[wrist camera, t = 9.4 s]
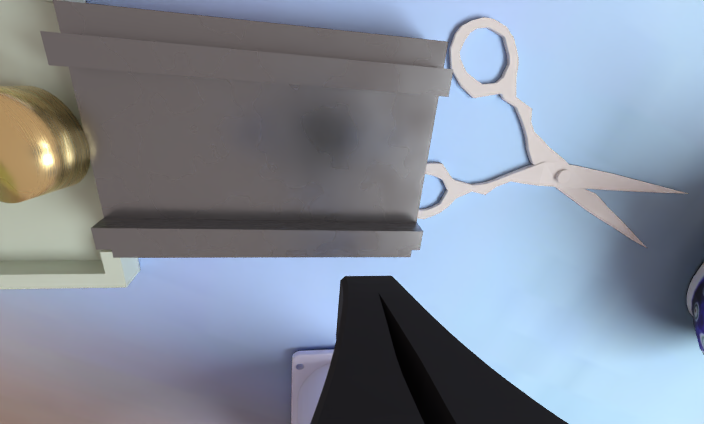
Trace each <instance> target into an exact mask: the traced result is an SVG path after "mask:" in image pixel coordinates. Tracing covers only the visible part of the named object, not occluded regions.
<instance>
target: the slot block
mask: <svg viewBox="0 0 704 424" xmlns="http://www.w3.org/2000/svg"><path fill="white" fill-rule="evenodd" d="M53 4H54V8H55V12H56V16H57V21H58V25H59V29H60V33H57V32H46V31H40V33H41V37H42V41H43V45H44V49H45V52H46V56H47V60H48V64H49V65H52V66H65V67H69V71H70V76H71V80H72V84H73V88H74V93H75V97H76V101H77V105H78V110H79V114H80V118H81V122H82V127H83V131H84V133H85V136H86V138H87V142H88V145H89V151H90V160H91V165H92V169H93V173H94V177H95V182H96V186H97V190H98V194H99V199H100V203H101V207H102V211H103V216H104V218H103V219H101V220H100V221H99V222H98V223H96V224H95V225H94V226H93V227H91V231H92V235H93V239H94V243H95V247H96V250H112V254H113V258H185V257H410V256H411V250H420V246H421V240H422V235H423V231H422V229H421V228H420V226H419V225H418V224H417V216H418V211H419V205H420V199H421V194H422V188H423V182H424V176H425V171H426V165H427V159H428V154H429V148H430V142H431V137H432V131H433V125H434V120H435V114H436V108H437V103H438V97H439V96H446V97H448V96H449V90H450V85H451V80H452V74H453V69H444V63H445V57H446V51H447V46H448V42H446V41H436V40H427V39H417V38H408V37H399V36H389V35H380V34H370V33H361V32H352V31H342V30H333V29H324V28H314V27H305V26H295V25H286V24H277V23H267V22H258V21H249V20H239V19H230V18H220V17H211V16H202V15H192V14H183V13H173V12H164V11H155V10H145V9H136V8H127V7H117V6H108V5H98V4H89V3H80V2H70V1H61V0H53Z"/></svg>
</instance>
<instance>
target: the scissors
mask: <svg viewBox="0 0 704 424" xmlns="http://www.w3.org/2000/svg"><path fill="white" fill-rule="evenodd" d="M477 28H487V29H489V30H491V31H493V32H495V33H496V34H498V35H499V36H501V37H502V39H503V43H504V46H505V50H506V54H507V65H506V67H505V70H504V72H503V74H502V76H501V78H500V79H499V80H497V81H496V82H495V83H489V84H481V83H480V82H478V81H477V80H476V79H474V78H473V77H472V76H471V75H469V74H468V73H467V72H466V70H465V68H464V66H463V64H462V61H461V59H460V50H461V48H462V46H463V43H464V41H465V39H466V38H467V37H468V35H469V34H470V33H471V32H472V31H474V30H476V29H477ZM449 58H450V69H453V75H454V76H455V78H456V80H457V82H458V84H459V85H460V87H461V88H462V89H464V90H465V91H466V92H467V93H468V94H469V95H470V96H471V97H472V98H477V97H483V96H489V95H495V94H500V96H501V99H502V100H504V101H505V102H507V103H509V104H510V105H512V106H513V107H514V108H515V111H516V113H517V115H518V118H519V120H520V123H521V126H522V129H523V133H524V136H525V144H526V151H527V154H528V157H529V160H530V163H531V165H528V166H525V167H523V168H520V169H518V170H515V171H512V172H510V173H507V174H505V175H502V176H500V177H497V178H495V179H492V180H489V181H486V182H482V183H475V184H469V183H465V182H462V181H458V180H454V179H453V178H452V177H451V176H450V175H449V173H448V171H447V170H446V168H445V167H444V165H443V164H442V163H430V162H429V163H427V165H426V171H425V174H428V175H433V176H436V177H438V178H440V179H442V181H443V183H444V186H445V188H446V191H445V193H444V195H443V196H442V198H441V200H440V202H439V203H437V204H435V205H433V206H431V207H429V208H425V209H419V211H418V216H417V218H420V219H425V218H428V217H431V216H434V215H436V214H438V213H440V212H442V211H443V210H444V209H446V208H447V207H448V206H449V205H450V204H451V203H452V202H453V201H454V200H455V199H456V198H458V197H460V196H463V195H465V194H467V193H469V192H472V191H473V192H476V193H480V194H484V195H486V194H487V193H488V192H490V191H491V190H493V189H494V188H495V187H497V186H500V185H502V184H505V183H508V182H510V181H512V182H517V183H523V184H530V185H537V186H552V187H556V188H557V189H558V190H560V191H561V192H562V193H564V194H565V195H566V196H568V197H569V198H570V199H572V200H573V201H574V202H576V203H577V204H578V205H580V206H581V207H582V208H584V209H585V210H587V211H588V212H590V213H591V214H593V215H594V216H596V217H597V218H599V219H600V220H602V221H603V222H605V223H607V224H608V225H610V226H612V227H613V228H615V229H616V230H618V231H619V232H621V233H622V234H624V235H625V236H627V237H628V238H630V239H631V240H633V241H635V242H637V243H639V244H640V245H642V246H644V247H646V246H645V245H644V244H643V243H642V242H641V241H640V240H639V239H638V238H637V237H636V236H635V234H634V233H633V232H632V231H631V230H630V229H629V228H628V227H627V226H626V225H625V224H624V223H623V222H622V221H621V219H620V218H619V217H618V216H616V215H615V214H614V213H613V212H612V211H611V210H610V209H609V208H608V207H607V206H606V204H605V203H604V202H603V201H602V200H601V199H600V198H599V196H597V195H596V194H595V193H593V192H590V191H588V190H586V189H599V190H615V191H634V192H658V193H682V194H689V193H685V192H681V191H677V190H673V189H670V188H666V187H662V186H658V185H654V184H650V183H647V182H643V181H639V180H635V179H631V178H628V177H624V176H620V175H616V174H612V173H607V172H603V171H598V170H594V169H589V168H585V167H580V166H576V165H569V164H568V163H567V162H566V161H565V160H564V159H563V158H562V157H560V156H559V155H558V154H557V153H556V152H554V151H553V150H552V149H551V148H550V147H549V146H548V145H547V144H546V143H545V142H544V141H543V140H542V139H541V138H540V137H539V136H538V135H537V134H536V133H535V132H534V129H533V126H532V123H531V117H532V108H530V107H529V106H528V105H526V104H525V103H523V102H522V101H521V100H519V99H518V98H517V97H516V76H517V70H518V53H517V49H516V45H515V41H514V37H513V36H512V34H511V33H510V31H509V30H508V28H507V27H506V26H504V25H503V24H501V23H499V22H498V21H496V20H495V19H491V18H484V17H483V18H479V19H476V20H472V21H469V22H467V23H465V24H463V25H462V26H460V27H459V29H458V30H457V31H456V33H455V34H454V36H453V39H452V42H451V45H450V48H449ZM646 248H647V247H646Z"/></svg>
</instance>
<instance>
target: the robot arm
mask: <svg viewBox="0 0 704 424" xmlns="http://www.w3.org/2000/svg"><path fill="white" fill-rule="evenodd" d="M298 364H301V365H298ZM291 424H568V423H567V422H565V421H564V420H562V419H560V418H559V417H557V416H556V415H555V414H553V413H552V412H550V411H549V410H547V409H546V408H544V407H543V406H542V405H540V404H539V403H537V402H536V401H534V400H533V399H532V398H530V397H529V396H528V395H526V394H525V393H524V392H522V391H521V390H520V389H518V388H517V387H516V386H514V385H513V384H511V383H510V382H509V381H507V380H506V379H505V378H503V377H502V376H501V375H499V374H498V373H497V372H496V371H494V370H493V369H492V368H491V367H489V366H488V365H487V364H486V363H484V362H483V361H482V360H481V359H480V358H479V357H477V356H476V355H475V354H474V353H473V352H471V351H470V350H469V349H468V348H467V347H465V346H464V345H463V344H462V343H461V342H460V341H459V340H457V339H456V338H455V337H454V336H453V335H452V334H451V333H450V332H449V331H447V330H446V329H445V328H444V327H443V326H442V325H441V324H440V323H439V322H438V321H437V320H436V319H435V318H434V317H433V316H431V315H430V314H429V313H428V312H427V311H426V310H425V309H424V308H423V307H422V306H421V305H420V304H419V303H418V302H417V301H416V300H415V299H414V298H413V297H412V296H411V295H410V294H409V293H408V292H407V291H406V290H405V289H404V288H403V287H402V286H401V285H400V284H399V283H398V282H397V281H396V280H395V279H394V278H393V277H392V276H345V277H344V278H343V279H342V280H341V282H340V294H339V306H338V318H337V331H336V344H335V348H334V349H330V350H309V351H297V352H295V353H294V354H293V356H292V396H291Z"/></svg>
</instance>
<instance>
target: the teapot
mask: <svg viewBox="0 0 704 424" xmlns="http://www.w3.org/2000/svg"><path fill="white" fill-rule="evenodd" d="M687 306H688V309H689V312H690V313H691V315H692V316H693V321H694V327H695V331H696V335H697V339H698V343H699V347H700V349H701V351H702V352H703V354H704V263H703V264H702V266H701V267H700V268H699V270H698V271H697V273H696V274H695V276H694V277H693V279H692V281H691V283H690V285H689V288H688V292H687Z"/></svg>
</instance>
